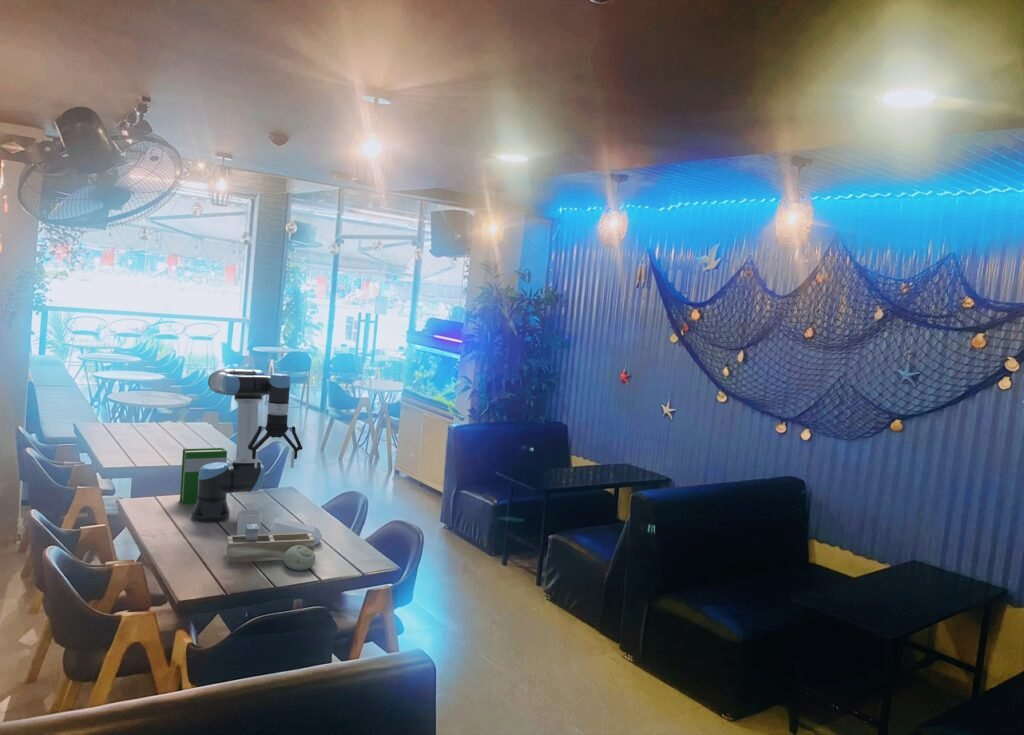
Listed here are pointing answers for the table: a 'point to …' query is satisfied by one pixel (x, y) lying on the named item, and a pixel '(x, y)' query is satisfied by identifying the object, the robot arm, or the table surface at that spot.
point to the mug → (248, 520)
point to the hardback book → (196, 469)
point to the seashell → (299, 558)
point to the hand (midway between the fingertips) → (274, 467)
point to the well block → (265, 546)
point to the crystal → (294, 528)
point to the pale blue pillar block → (251, 533)
